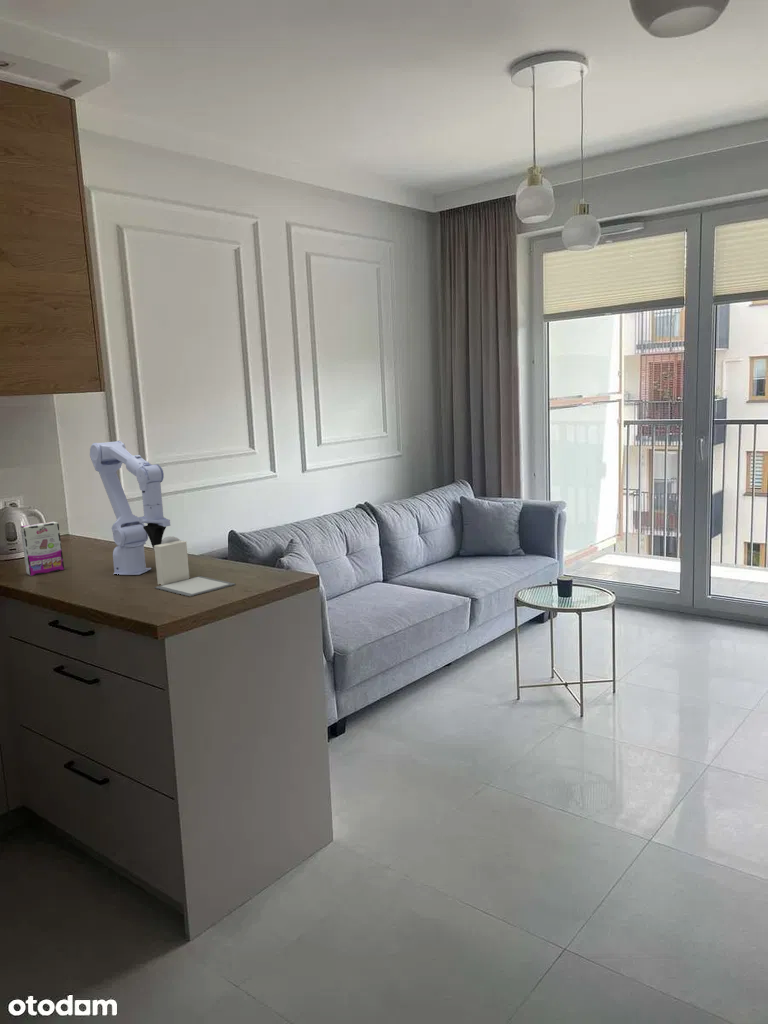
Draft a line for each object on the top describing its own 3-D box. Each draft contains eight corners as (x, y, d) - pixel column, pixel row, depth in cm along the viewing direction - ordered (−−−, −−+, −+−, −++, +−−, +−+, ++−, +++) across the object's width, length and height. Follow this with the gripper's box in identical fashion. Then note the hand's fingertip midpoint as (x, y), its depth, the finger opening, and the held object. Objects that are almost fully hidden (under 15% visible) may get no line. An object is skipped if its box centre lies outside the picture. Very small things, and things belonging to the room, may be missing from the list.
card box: (157, 584, 231) (153, 545, 229) (183, 577, 238) (179, 540, 236) (164, 585, 229) (160, 546, 227) (189, 579, 236) (186, 541, 234)
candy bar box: (60, 567, 261) (54, 520, 258) (64, 570, 257) (59, 522, 254) (25, 573, 254) (19, 525, 251) (29, 576, 250) (23, 527, 247)
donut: (160, 569, 252) (158, 539, 250) (155, 567, 254) (152, 538, 253) (187, 563, 259) (184, 534, 257) (182, 562, 261) (179, 533, 260)
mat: (154, 588, 226) (154, 586, 226) (200, 577, 238) (199, 575, 238) (189, 597, 214) (189, 595, 214) (235, 584, 226) (235, 583, 226)
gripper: (128, 504, 237) (132, 547, 239) (154, 507, 227) (158, 552, 229) (148, 501, 242) (152, 543, 244) (174, 504, 232) (178, 547, 234)
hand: (156, 547), depth 237 cm, fingers closed
